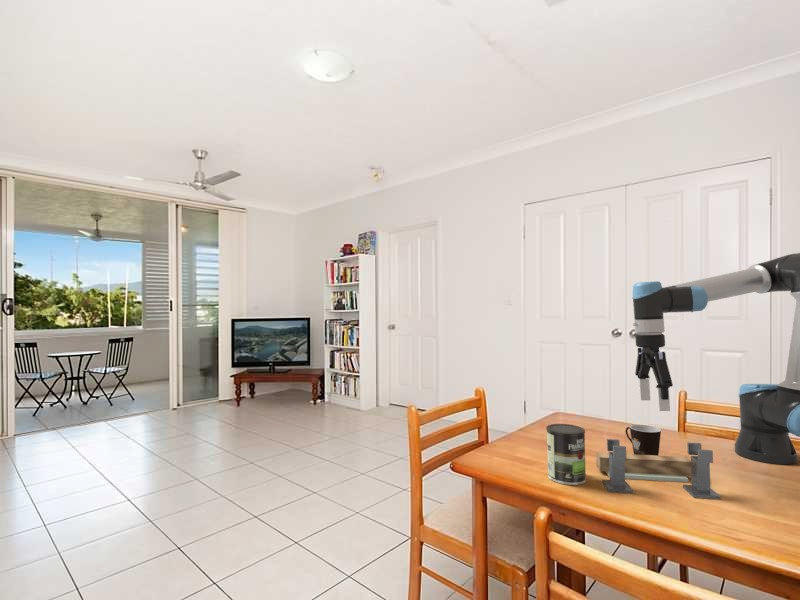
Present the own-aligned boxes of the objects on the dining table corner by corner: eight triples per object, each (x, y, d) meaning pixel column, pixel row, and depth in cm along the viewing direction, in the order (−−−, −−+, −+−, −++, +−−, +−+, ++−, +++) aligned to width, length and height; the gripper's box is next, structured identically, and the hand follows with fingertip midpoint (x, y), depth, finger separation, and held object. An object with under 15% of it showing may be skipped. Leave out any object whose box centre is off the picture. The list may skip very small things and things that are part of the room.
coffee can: (594, 480, 118) (593, 430, 118) (568, 488, 113) (567, 435, 113) (564, 468, 127) (563, 421, 127) (539, 475, 122) (538, 426, 122)
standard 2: (707, 488, 111) (706, 443, 111) (721, 499, 105) (719, 451, 105) (682, 487, 112) (681, 442, 113) (694, 497, 106) (692, 450, 106)
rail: (685, 470, 121) (685, 456, 121) (692, 476, 117) (692, 461, 117) (596, 466, 126) (596, 452, 126) (600, 471, 122) (599, 457, 122)
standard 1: (625, 483, 115) (624, 439, 115) (633, 494, 109) (632, 447, 109) (602, 482, 116) (601, 438, 117) (608, 492, 110) (607, 446, 110)
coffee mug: (666, 466, 128) (665, 432, 128) (635, 464, 129) (634, 431, 129) (651, 453, 139) (651, 422, 139) (623, 451, 141) (622, 421, 141)
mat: (675, 471, 123) (675, 467, 123) (688, 482, 115) (688, 478, 115) (602, 467, 127) (602, 464, 127) (609, 477, 119) (609, 474, 119)
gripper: (621, 331, 138) (625, 396, 137) (653, 336, 113) (658, 415, 113) (646, 330, 137) (650, 396, 136) (683, 335, 112) (689, 415, 112)
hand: (654, 405), depth 124 cm, fingers open, 13 cm apart
